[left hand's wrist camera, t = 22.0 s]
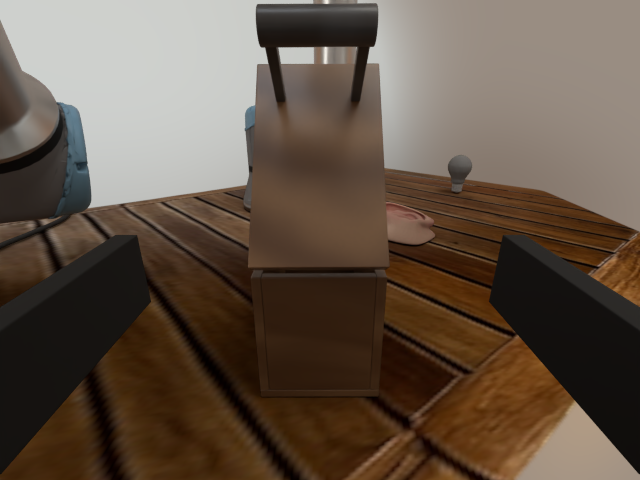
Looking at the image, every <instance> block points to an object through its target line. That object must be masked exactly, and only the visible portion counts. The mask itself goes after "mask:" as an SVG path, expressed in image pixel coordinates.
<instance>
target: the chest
mask: <svg viewBox="0 0 640 480" xmlns="http://www.w3.org/2000/svg"><path fill="white" fill-rule="evenodd" d="M386 285H387V276H386V274H385V271H384V270H254V272H253V274H252V276H251V286H252V298H253V309H254V321H255V332H256V344H257V355H258V367H259V378H260V389H261V397H358V396H378V394H379V381H380V367H381V354H382V340H383V326H384V312H385V299H386Z"/></svg>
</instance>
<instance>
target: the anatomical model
mask: <svg viewBox="0 0 640 480" xmlns="http://www.w3.org/2000/svg"><path fill="white" fill-rule="evenodd" d="M386 211H387V230H388V240H390V241H394V242H398V243H403V244H409V245H419V244H423V243H425V242H427V241H429V240H431V239H432V238H434V237H435V234H434V233H433V232H432V231H431V230H430V229H429V228H430V227H431V226H432V225H433V224H434V220H433V219H431V218H429V217H428V216H426V215H424V214H423V213H421V212H419V211H417V210H414V209H412V208H409V207H406V206H402V205H399V204H395V203H390V202H386Z"/></svg>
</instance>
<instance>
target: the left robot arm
mask: <svg viewBox="0 0 640 480" xmlns="http://www.w3.org/2000/svg"><path fill="white" fill-rule="evenodd" d="M90 203H91V186H90V177H89V170H88V166H87V154H86V147H85V140H84V134H83V129H82V123H81V118H80V114H79V111H78V110H77V108H75V107H74V106H72V105H66V104H64V103H59V102H56V101H55V99H54V97H53V95H52V94H51V92H50V91H49V90H48V89H47V87H46V86H45V85H43V84H42V83H41V82H40V81H38V80H37V79H35V78H34V77H32V76H31V75H29V74H27V73H25V72H23V71H22V70H21V67H20V65H19V63H18V60H17V58H16V56H15V53H14V51H13V49H12V47H11V44H10V42H9V40H8V37H7V35H6V33H5V30H4V28H3V26H2V23H1V21H0V223H8V222H17V221H26V220H35V219H44V218H48V219H54V218H57V217H59V216H62V215H64V216H62V217H61V218H59V219H57V220H55V221H53V222H51V223H49V224H46V225H44V226H41V227H39V228H37V229H34V230H32V231H30V232H27V233H25V234H22V235H20V236H17V237H14V238H12V239H9V240H6V241H4V242H2V243H0V249H1V248H3V247H5V246H8V245H10V244H12V243H15V242H17V241H20V240H22V239H25V238H27V237H30V236H32V235H34V234H37V233H39V232H41V231H43V230H46V229H48V228H51V227H53V226H55V225H57V224H59V223H61V222H63V221H64V220H66V219H67V218H68V217H69V216H70V214H74V213H79V212H82V211H84V210H86V209H87V208H88V207H89V205H90ZM150 302H151V299H150V295H149V290H148V285H147V280H146V276H145V271H144V266H143V261H142V257H141V252H140V247H139V243H138V238H137V235H115V236H113V237H112V238H110V239H109V240H107V241H105V242H104V243H102V244H101V245H99V246H97V247H96V248H94V249H93V250H91V251H89V252H88V253H86V254H85V255H83V256H81V257H80V258H78V259H77V260H75V261H73V262H72V263H70V264H69V265H67V266H65V267H64V268H62V269H61V270H59V271H57V272H56V273H54V274H53V275H51V276H49V277H48V278H46V279H45V280H43V281H41V282H40V283H38V284H37V285H35V286H33V287H32V288H30V289H29V290H27V291H25V292H24V293H22V294H21V295H19V296H17V297H16V298H14V299H13V300H11V301H9V302H8V303H6V304H5V305H3V306H2V307H0V474H1V473H2V472H3V471H4V470H5V469H6V468H7V467H8V465H9V464H10V463H11V462H12V461H13V460H14V459H15V457H16V456H17V455H18V454H19V453H20V452H21V450H22V449H23V448H24V447H25V446H26V445H27V444H28V442H29V441H30V440H31V439H32V438H33V437H34V436H35V434H36V433H37V432H38V431H39V430H40V429H41V427H42V426H43V425H44V424H45V423H46V422H47V421H48V419H49V418H50V417H51V416H52V415H53V414H54V413H55V411H56V410H57V409H58V408H59V407H60V406H61V404H62V403H63V402H64V401H65V400H66V399H67V398H68V396H69V395H70V394H71V393H72V392H73V391H74V390H75V388H76V387H77V386H78V385H79V384H80V383H81V381H82V380H83V379H84V378H85V377H86V376H87V375H88V373H89V372H90V371H91V370H92V369H93V368H94V367H95V365H96V364H97V363H98V362H99V361H100V360H101V358H102V357H103V356H104V355H105V354H106V353H107V352H108V350H109V349H110V348H111V347H112V346H113V345H114V344H115V342H116V341H117V340H118V339H119V338H120V337H121V335H122V334H123V333H124V332H125V331H126V330H127V329H128V327H129V326H130V325H131V324H132V323H133V322H134V321H135V319H136V318H137V317H138V316H139V315H140V314H141V312H142V311H143V310H144V309H145V308H146V307H147V306H148V304H149V303H150ZM489 302H490V303H491V304H492V306H493V307H494V308H495V309H496V310H497V311H498V312H499V314H500V315H501V316H502V317H503V318H504V319H505V321H506V322H507V323H508V324H509V325H510V326H511V327H512V329H513V330H514V331H515V332H516V333H517V334H518V335H519V337H520V338H521V339H522V340H523V341H524V342H525V344H526V345H527V346H528V347H529V348H530V349H531V350H532V352H533V353H534V354H535V355H536V356H537V357H538V358H539V360H540V361H541V362H542V363H543V364H544V365H545V367H546V368H547V369H548V370H549V371H550V372H551V373H552V375H553V376H554V377H555V378H556V379H557V380H558V381H559V383H560V384H561V385H562V386H563V387H564V388H565V390H566V391H567V392H568V393H569V394H570V395H571V396H572V398H573V399H574V400H575V401H576V402H577V403H578V404H579V406H580V407H581V408H582V409H583V410H584V411H585V413H586V414H587V415H588V416H589V417H590V418H591V419H592V421H593V422H594V423H595V424H596V425H597V426H598V427H599V429H600V430H601V431H602V432H603V433H604V434H605V436H606V437H607V438H608V439H609V440H610V441H611V442H612V444H613V445H614V446H615V447H616V448H617V449H618V450H619V452H620V453H621V454H622V455H623V456H624V457H625V459H626V460H627V461H628V462H629V463H630V464H631V465H632V467H633V468H634V469H635V470H636V471H637V472H638V473H639V474H640V307H638V306H637V305H635V304H634V303H632V302H631V301H629V300H627V299H626V298H624V297H623V296H621V295H619V294H618V293H616V292H615V291H613V290H611V289H610V288H608V287H607V286H605V285H603V284H602V283H600V282H599V281H597V280H595V279H594V278H592V277H591V276H589V275H587V274H586V273H584V272H583V271H581V270H579V269H578V268H576V267H575V266H573V265H571V264H570V263H568V262H567V261H565V260H563V259H562V258H560V257H559V256H557V255H555V254H554V253H552V252H551V251H549V250H547V249H546V248H544V247H543V246H541V245H539V244H538V243H536V242H535V241H533V240H531V239H530V238H528V237H527V236H525V235H503V238H502V243H501V247H500V252H499V257H498V261H497V266H496V271H495V276H494V280H493V285H492V290H491V295H490V299H489Z"/></svg>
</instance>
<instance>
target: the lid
mask: <svg viewBox="0 0 640 480" xmlns="http://www.w3.org/2000/svg"><path fill="white" fill-rule="evenodd" d="M256 27H257V35H258V41H259V44H260V47H265V49H266V54H267V59H268V64H258V65H257V83H256V105H255V127H254V148H253V170H252V192H251V214H250V236H249V258H248V268H249V269H251V270H386V269H387V268H389V250H388V230H387V211H386V192H385V172H384V153H383V134H382V115H381V95H380V76H379V64H367V59H368V54H369V48H370V47H374V45H375V42H376V37H377V28H378V6H377V4H376V3H369V4H367V3H366V4H258V5H257V7H256ZM278 47H357V50H356V57H355V64H281V62H280V56H279V49H278Z"/></svg>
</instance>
